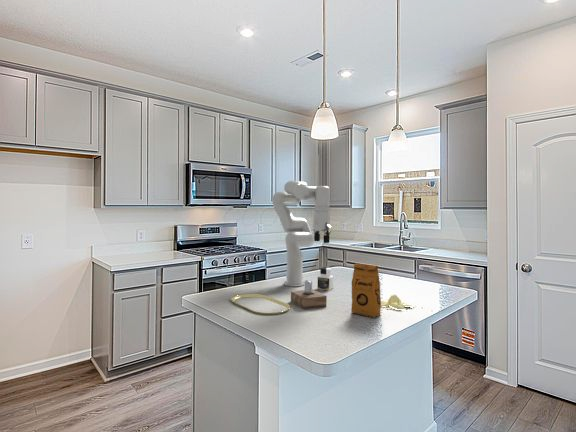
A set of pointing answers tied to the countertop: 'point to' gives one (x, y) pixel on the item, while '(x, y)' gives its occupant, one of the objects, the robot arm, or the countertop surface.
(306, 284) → the pin
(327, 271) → the medicine bottle
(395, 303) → the cloth
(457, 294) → the countertop surface
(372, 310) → the coffee package
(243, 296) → the wavy rubber band
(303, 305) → the bore block
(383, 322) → the countertop surface
